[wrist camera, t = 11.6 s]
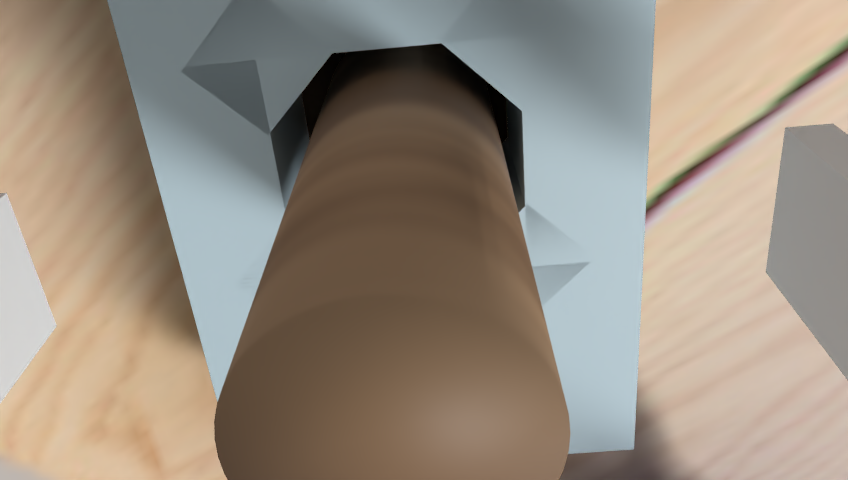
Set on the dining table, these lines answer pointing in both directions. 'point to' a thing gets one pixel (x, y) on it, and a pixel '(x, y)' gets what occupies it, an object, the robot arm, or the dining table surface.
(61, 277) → the dining table surface
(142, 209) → the dining table surface
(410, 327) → the walnut dowel
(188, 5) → the bore block
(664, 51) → the dining table surface
